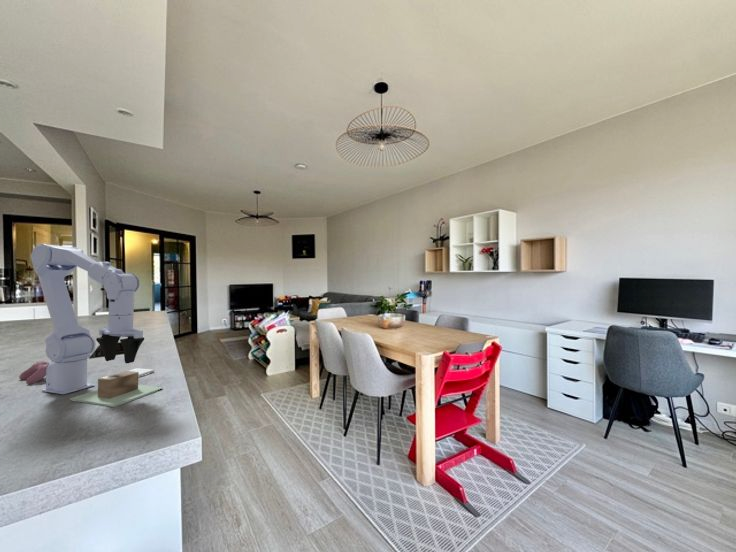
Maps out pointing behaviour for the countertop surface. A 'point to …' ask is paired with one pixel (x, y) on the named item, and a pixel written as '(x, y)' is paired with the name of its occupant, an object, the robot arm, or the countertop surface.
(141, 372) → the external hard drive
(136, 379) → the labeled brown box
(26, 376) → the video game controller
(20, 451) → the countertop surface
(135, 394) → the sage mat
